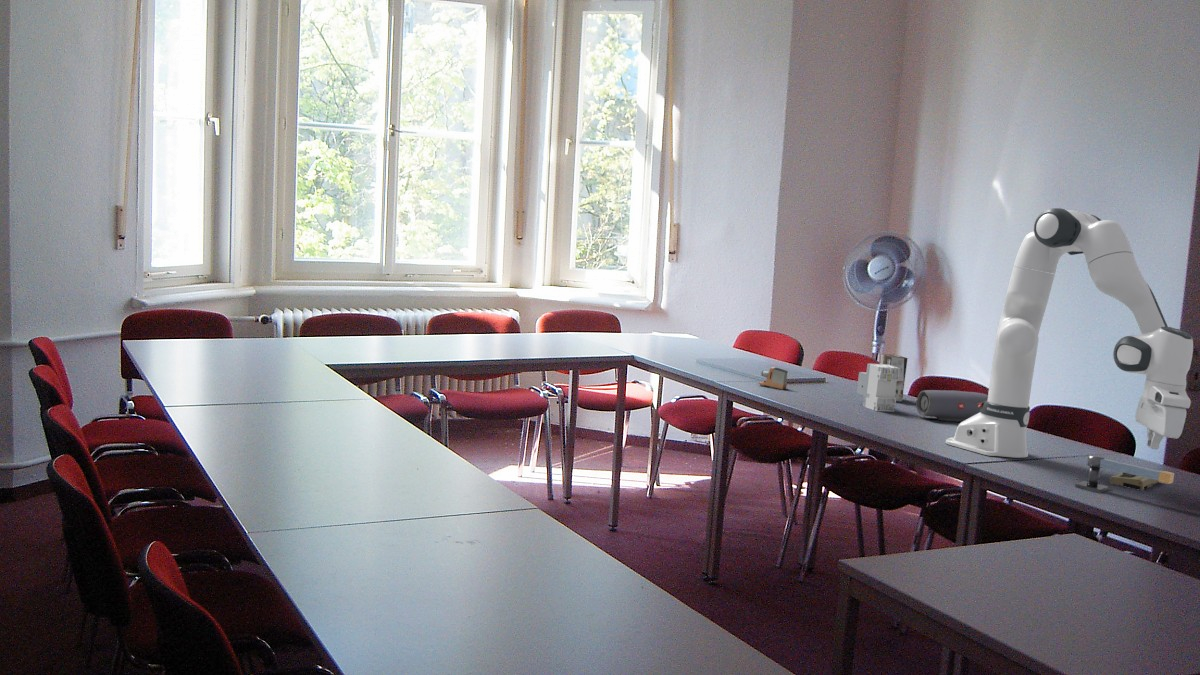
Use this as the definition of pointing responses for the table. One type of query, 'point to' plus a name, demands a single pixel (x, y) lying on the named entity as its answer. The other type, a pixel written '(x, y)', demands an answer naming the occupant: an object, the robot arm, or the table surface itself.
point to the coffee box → (900, 363)
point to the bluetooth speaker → (949, 404)
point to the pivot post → (1092, 481)
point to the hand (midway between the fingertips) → (1152, 448)
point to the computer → (1132, 481)
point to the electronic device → (775, 378)
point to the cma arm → (1130, 469)
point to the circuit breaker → (878, 386)
